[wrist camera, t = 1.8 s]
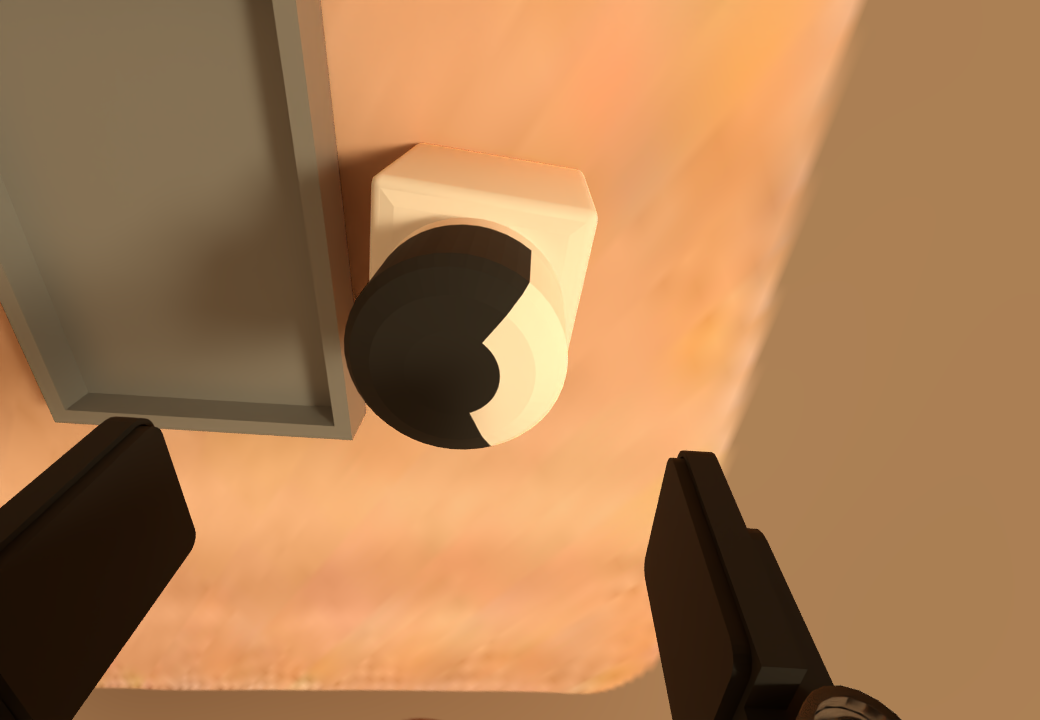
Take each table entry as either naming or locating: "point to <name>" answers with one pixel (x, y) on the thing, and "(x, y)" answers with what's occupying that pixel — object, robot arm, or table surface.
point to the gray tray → (176, 214)
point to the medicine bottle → (469, 294)
